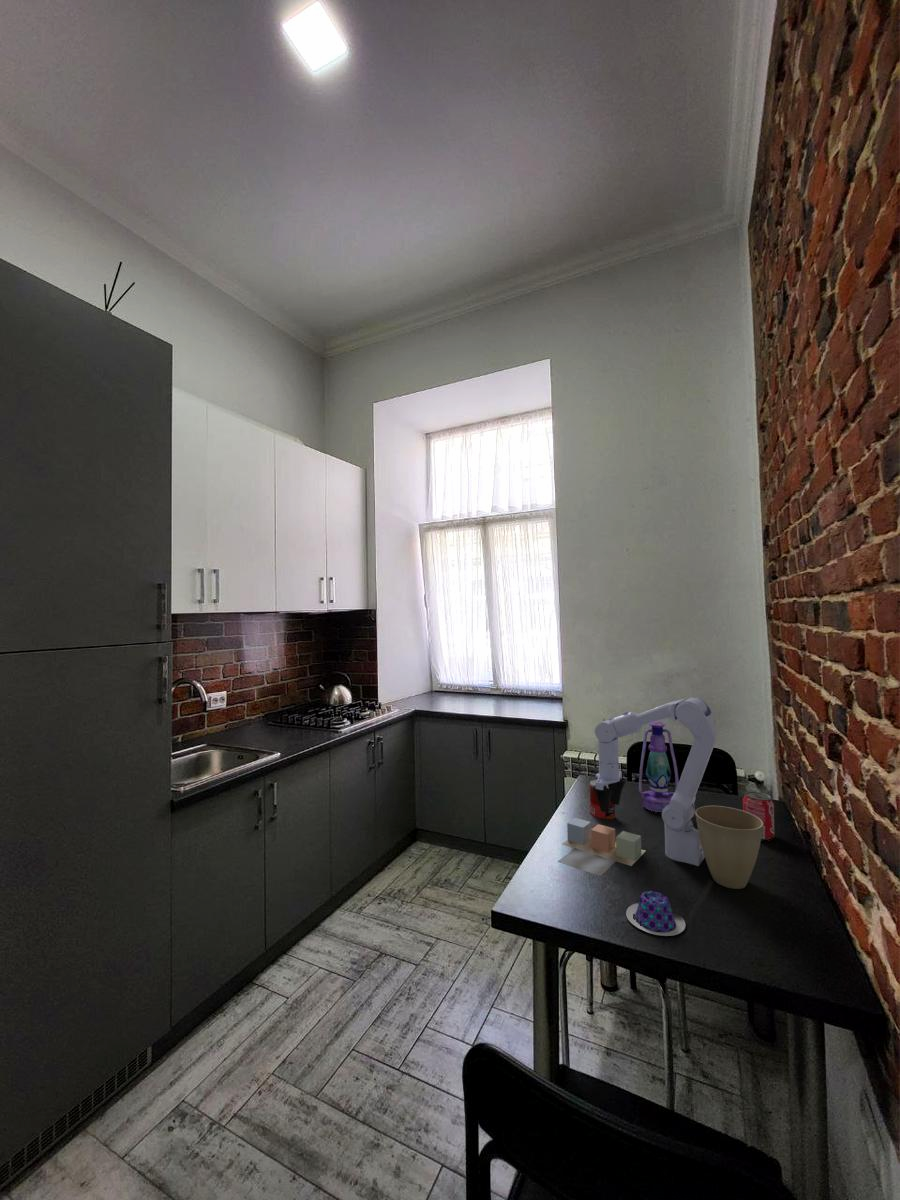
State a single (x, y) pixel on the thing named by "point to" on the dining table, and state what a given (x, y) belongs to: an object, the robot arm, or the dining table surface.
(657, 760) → the lantern
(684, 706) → the robot arm
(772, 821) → the beverage can
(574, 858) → the board
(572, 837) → the blue block
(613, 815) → the canned food
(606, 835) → the terracotta block
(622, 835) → the sage block
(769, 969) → the dining table surface
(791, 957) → the dining table surface
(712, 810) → the plant pot
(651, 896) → the patterned fedora hat
